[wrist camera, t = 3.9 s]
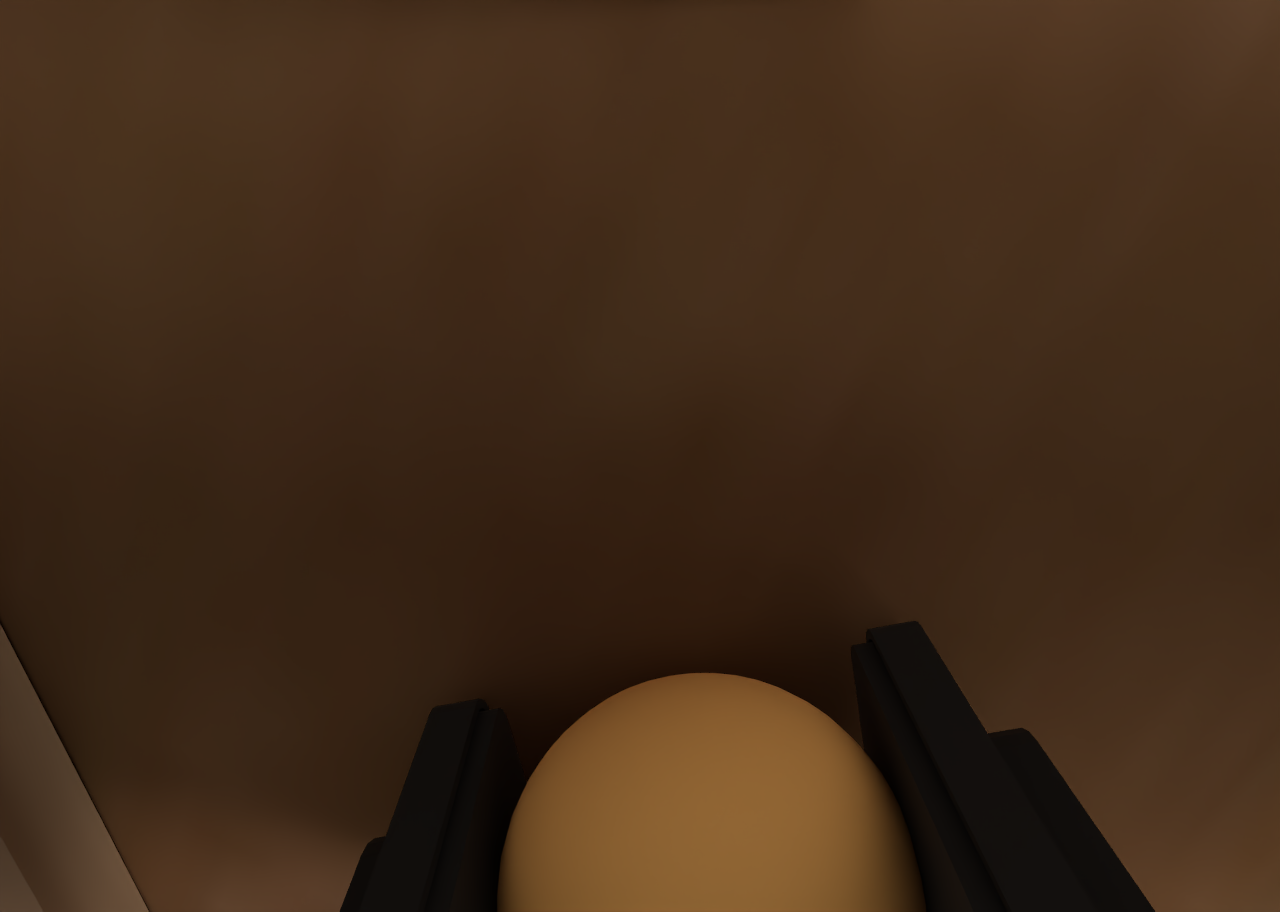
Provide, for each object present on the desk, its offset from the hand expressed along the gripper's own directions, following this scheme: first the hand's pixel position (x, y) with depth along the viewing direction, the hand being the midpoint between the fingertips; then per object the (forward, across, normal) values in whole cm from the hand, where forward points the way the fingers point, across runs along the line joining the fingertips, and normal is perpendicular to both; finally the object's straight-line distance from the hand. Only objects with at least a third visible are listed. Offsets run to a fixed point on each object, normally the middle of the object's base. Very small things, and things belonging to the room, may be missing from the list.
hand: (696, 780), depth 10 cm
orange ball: (0, 0, 0) cm, 0 cm away
